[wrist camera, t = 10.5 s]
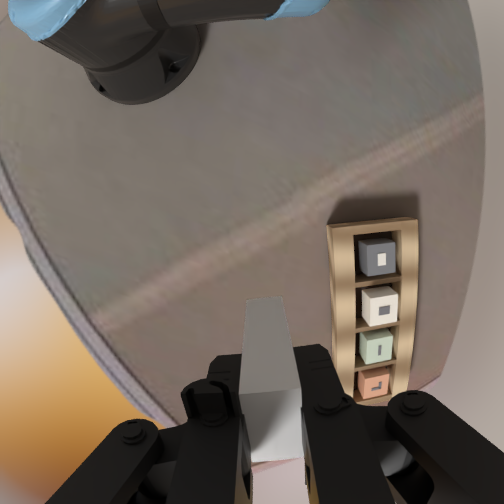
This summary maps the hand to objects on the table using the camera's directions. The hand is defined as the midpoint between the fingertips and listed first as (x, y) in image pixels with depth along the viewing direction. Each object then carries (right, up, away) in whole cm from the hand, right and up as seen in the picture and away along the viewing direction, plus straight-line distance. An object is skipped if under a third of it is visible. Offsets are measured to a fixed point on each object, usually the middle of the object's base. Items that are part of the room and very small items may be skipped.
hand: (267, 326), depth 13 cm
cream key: (+15, -3, +24) cm, 28 cm away
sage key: (+16, -9, +26) cm, 31 cm away
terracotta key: (+16, -14, +27) cm, 35 cm away
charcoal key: (+14, +3, +23) cm, 27 cm away
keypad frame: (+15, -6, +26) cm, 31 cm away
